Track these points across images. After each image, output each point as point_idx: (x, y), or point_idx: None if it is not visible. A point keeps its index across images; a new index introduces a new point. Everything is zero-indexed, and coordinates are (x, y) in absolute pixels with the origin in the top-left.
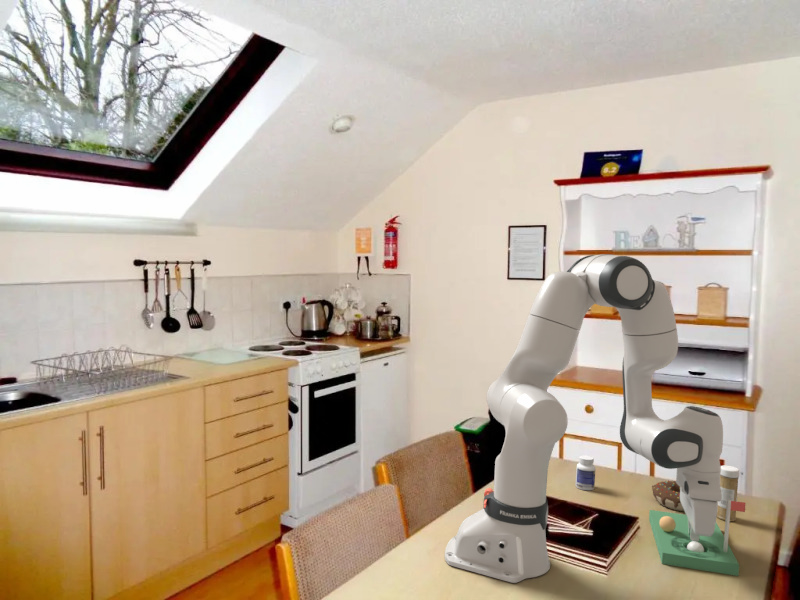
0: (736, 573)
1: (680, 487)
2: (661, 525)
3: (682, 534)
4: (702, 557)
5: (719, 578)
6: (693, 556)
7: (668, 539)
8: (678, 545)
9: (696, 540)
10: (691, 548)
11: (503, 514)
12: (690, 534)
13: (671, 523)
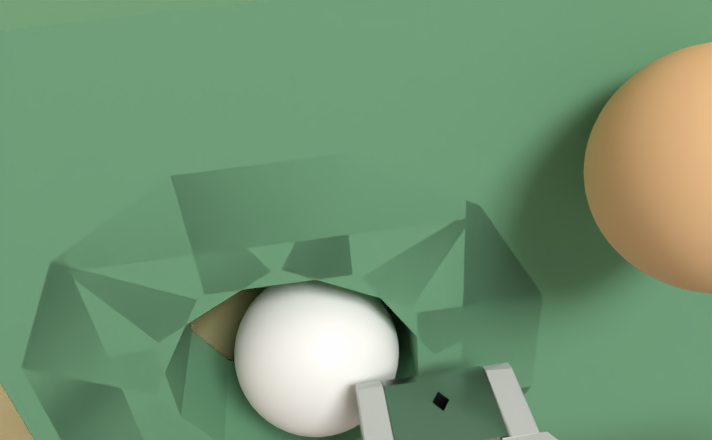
0: None
1: None
2: (660, 76)
3: (589, 273)
4: (64, 429)
5: (4, 433)
6: (20, 371)
7: (370, 133)
8: (235, 242)
9: (359, 423)
10: (250, 346)
11: None
12: (376, 426)
13: (639, 250)
